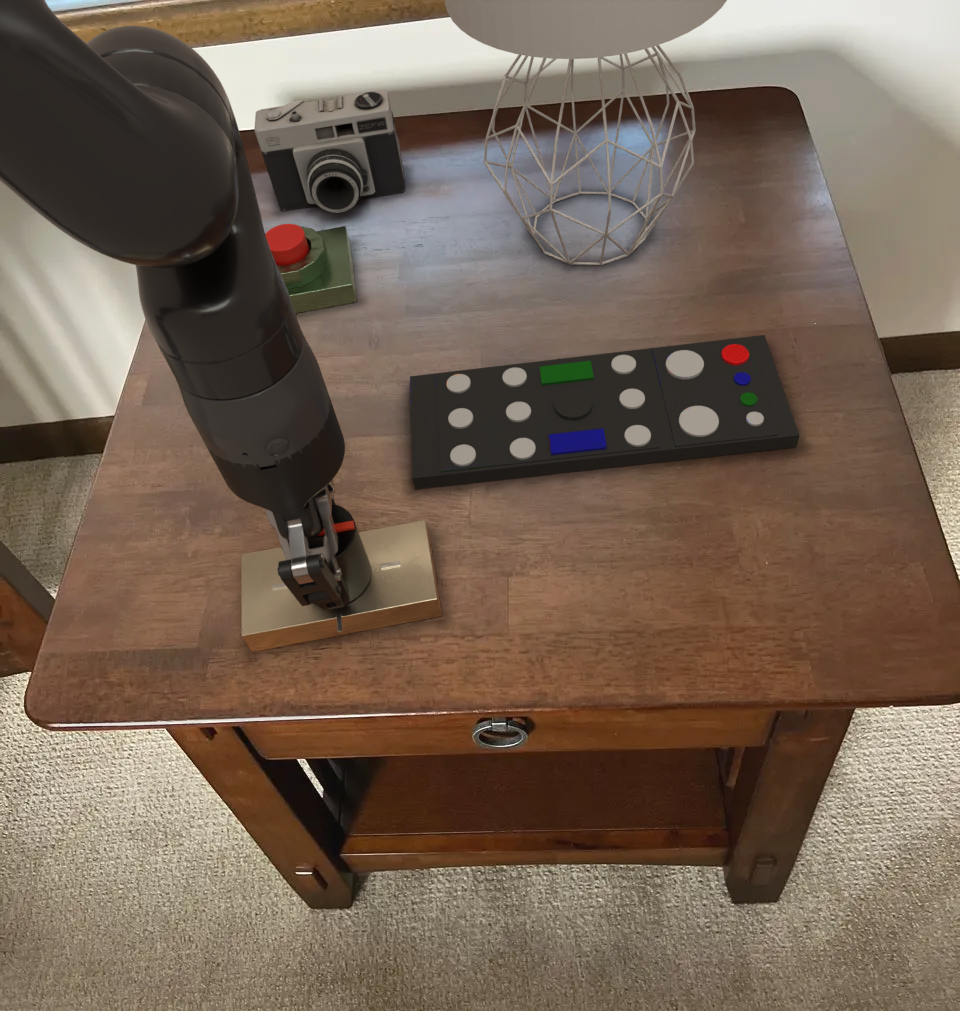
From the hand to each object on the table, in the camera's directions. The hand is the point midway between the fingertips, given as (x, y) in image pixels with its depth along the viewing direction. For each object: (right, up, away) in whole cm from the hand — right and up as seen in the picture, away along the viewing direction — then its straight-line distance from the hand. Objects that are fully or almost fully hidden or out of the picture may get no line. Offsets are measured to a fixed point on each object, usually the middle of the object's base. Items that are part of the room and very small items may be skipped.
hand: (332, 567), depth 66 cm
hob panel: (0, -2, +3) cm, 4 cm away
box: (-7, +26, +25) cm, 37 cm away
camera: (-4, +37, +32) cm, 49 cm away
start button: (-8, +28, +22) cm, 37 cm away
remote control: (+20, +12, +11) cm, 26 cm away
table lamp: (+21, +32, +25) cm, 46 cm away
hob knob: (0, -1, +1) cm, 1 cm away
